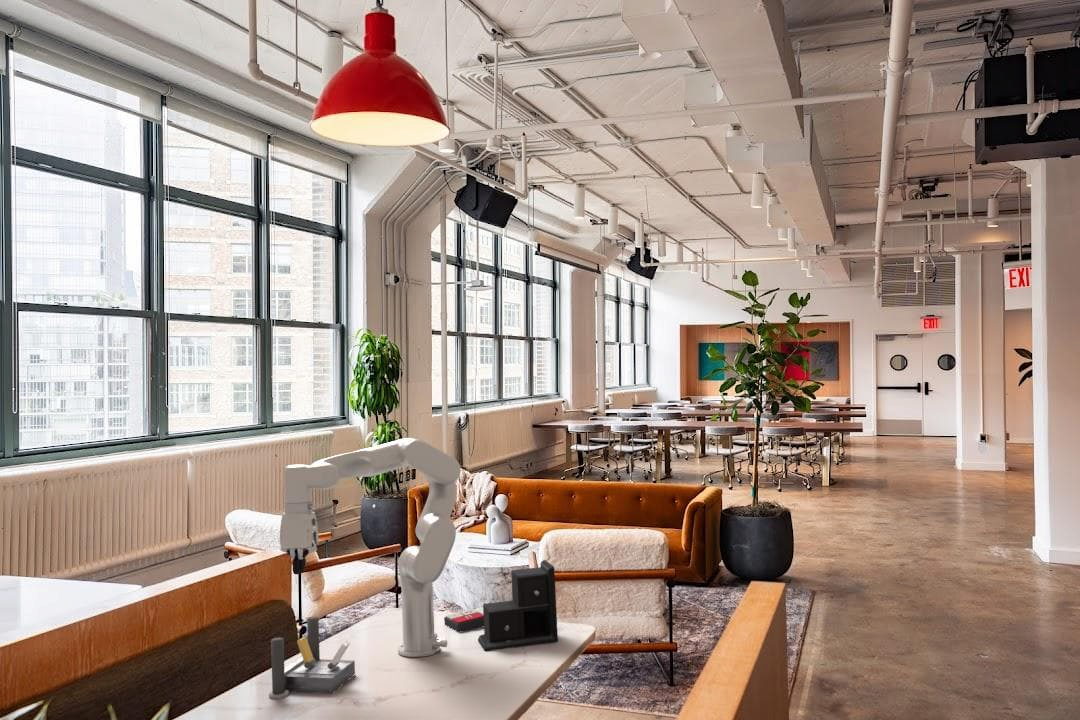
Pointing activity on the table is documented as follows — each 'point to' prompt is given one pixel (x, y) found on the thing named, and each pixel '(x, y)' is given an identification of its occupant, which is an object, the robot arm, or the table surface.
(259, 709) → the table surface
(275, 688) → the post near
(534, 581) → the black drawer organizer
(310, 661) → the paddle amber
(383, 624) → the table surface
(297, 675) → the breaker panel
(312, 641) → the post far
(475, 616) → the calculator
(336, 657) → the paddle white
